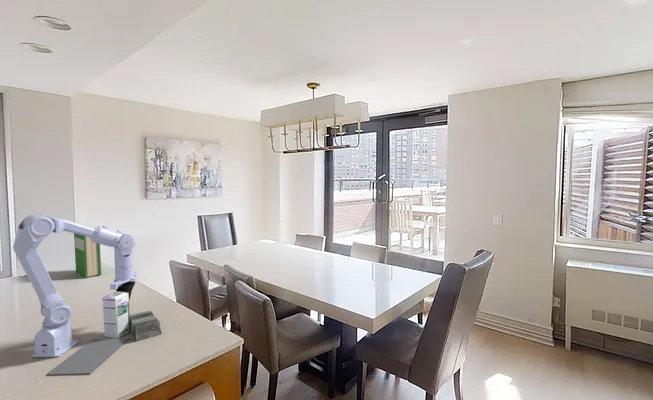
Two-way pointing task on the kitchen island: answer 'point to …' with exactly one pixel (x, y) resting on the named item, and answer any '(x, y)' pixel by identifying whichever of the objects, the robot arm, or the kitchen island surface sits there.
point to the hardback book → (87, 256)
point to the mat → (88, 357)
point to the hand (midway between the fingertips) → (125, 302)
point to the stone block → (144, 325)
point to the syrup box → (116, 314)
